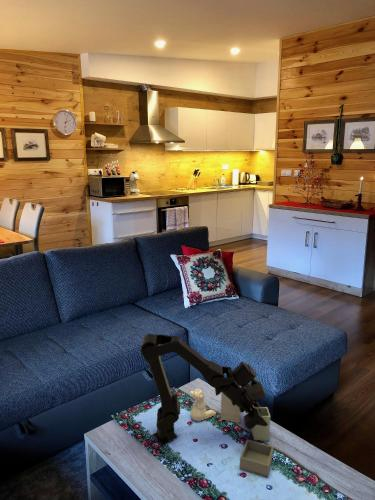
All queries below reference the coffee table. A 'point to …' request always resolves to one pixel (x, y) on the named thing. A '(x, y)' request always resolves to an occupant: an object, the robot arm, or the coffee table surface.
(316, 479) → the coffee table surface
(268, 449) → the box
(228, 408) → the supplement box
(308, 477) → the coffee table surface
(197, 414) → the seated beast figurine
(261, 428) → the beige open box
